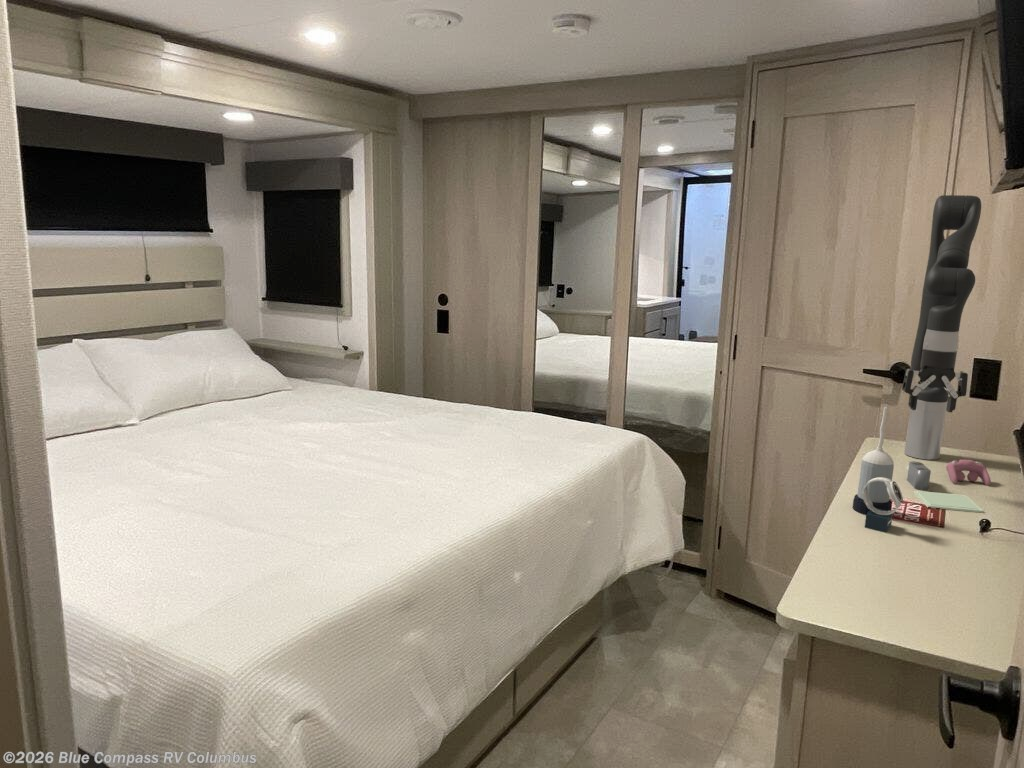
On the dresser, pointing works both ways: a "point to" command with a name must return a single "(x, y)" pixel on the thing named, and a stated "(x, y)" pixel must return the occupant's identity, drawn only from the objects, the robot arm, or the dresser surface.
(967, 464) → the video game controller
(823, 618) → the dresser surface
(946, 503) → the mat
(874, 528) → the watch
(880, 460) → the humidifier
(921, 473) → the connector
